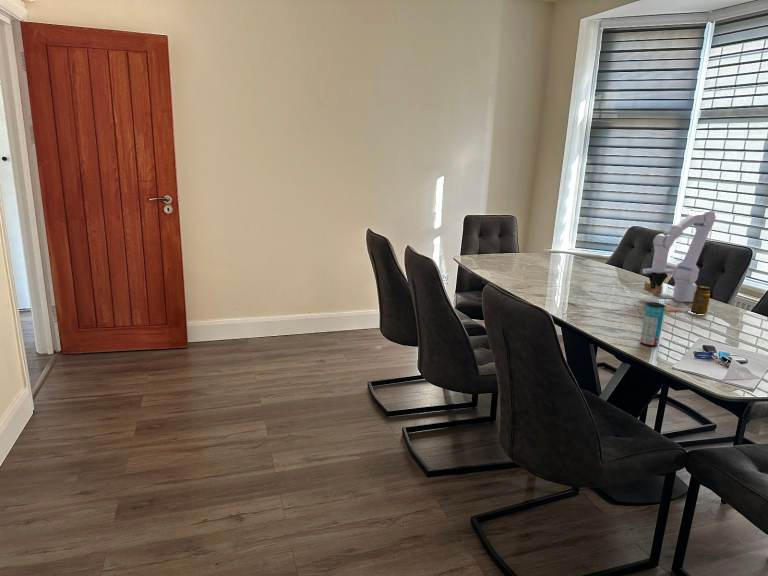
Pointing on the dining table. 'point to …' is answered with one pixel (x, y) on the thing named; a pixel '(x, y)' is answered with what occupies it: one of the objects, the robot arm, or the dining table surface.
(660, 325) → the beverage can
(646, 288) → the tall wooden plank
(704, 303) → the condiment
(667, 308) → the tile
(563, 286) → the dining table surface
